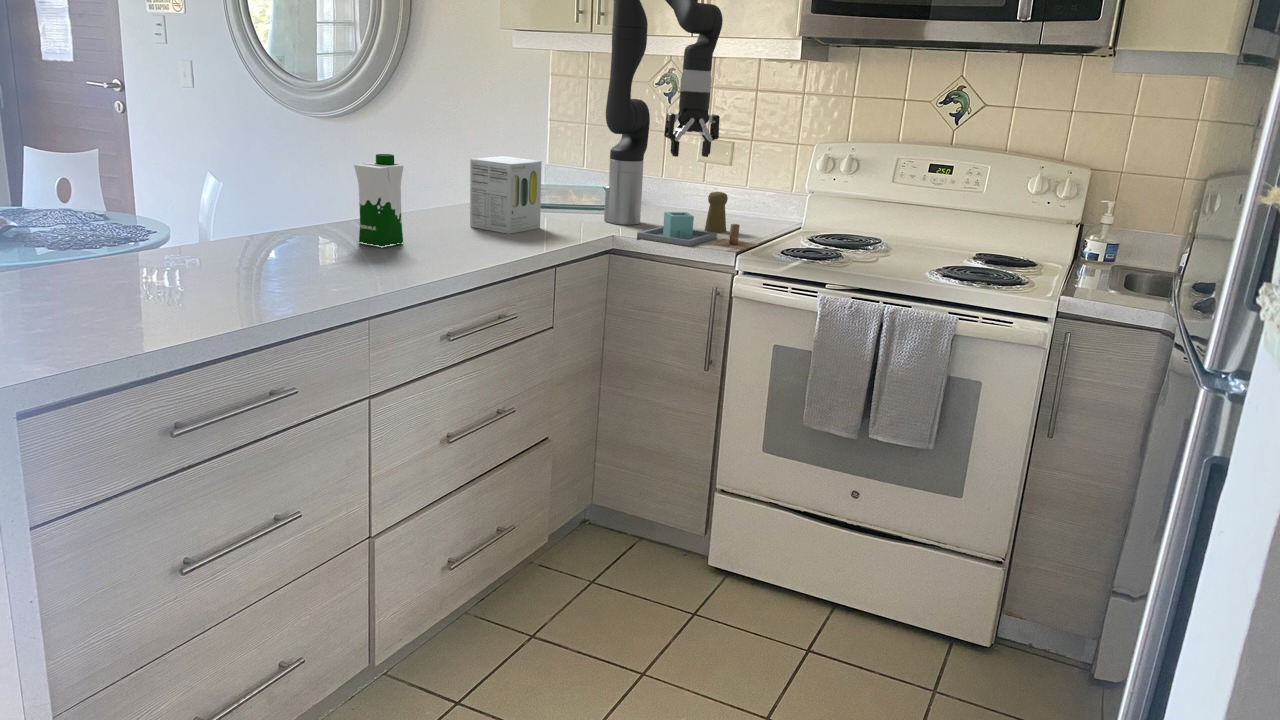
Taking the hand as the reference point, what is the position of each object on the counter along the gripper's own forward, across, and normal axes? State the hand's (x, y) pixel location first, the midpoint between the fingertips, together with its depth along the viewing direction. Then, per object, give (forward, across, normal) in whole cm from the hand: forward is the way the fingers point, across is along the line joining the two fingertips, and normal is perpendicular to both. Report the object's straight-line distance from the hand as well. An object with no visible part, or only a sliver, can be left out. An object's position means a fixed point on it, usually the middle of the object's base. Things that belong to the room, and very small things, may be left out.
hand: (690, 156), depth 235 cm
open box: (+20, +3, +2) cm, 20 cm away
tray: (+21, +3, +2) cm, 21 cm away
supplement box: (+22, +41, -22) cm, 51 cm away
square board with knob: (+21, -8, +12) cm, 25 cm away
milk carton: (+22, +76, -6) cm, 79 cm away
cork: (+21, -13, -6) cm, 26 cm away
